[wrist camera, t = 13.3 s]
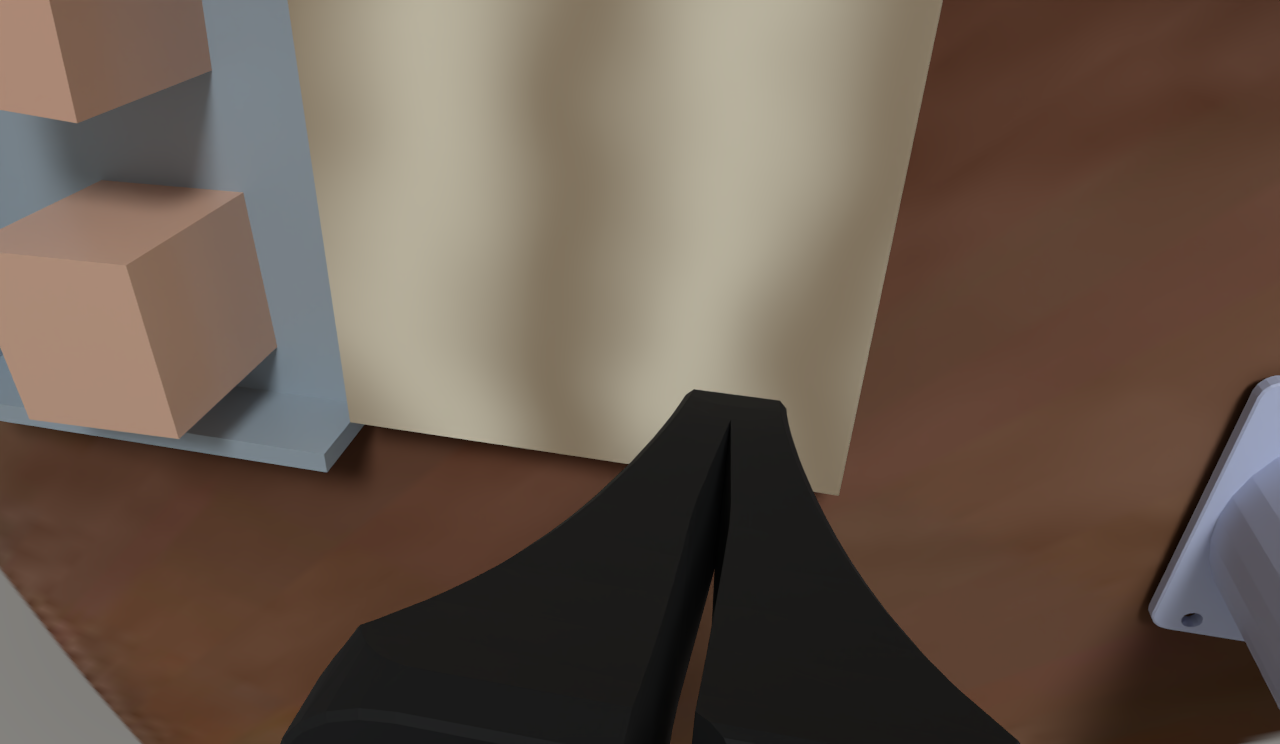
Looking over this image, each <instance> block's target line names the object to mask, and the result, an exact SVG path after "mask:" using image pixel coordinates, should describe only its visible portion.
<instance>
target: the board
mask: <svg viewBox="0 0 1280 744" xmlns="http://www.w3.org/2000/svg"><path fill="white" fill-rule="evenodd" d="M287 1H288V8H289V14H290V21H291V28H292V35H293V41H294V48H295V55H296V61H297V68H298V75H299V82H300V88H301V95H302V102H303V109H304V115H305V122H306V129H307V136H308V142H309V149H310V156H311V162H312V169H313V176H314V183H315V189H316V196H317V203H318V210H319V216H320V223H321V230H322V236H323V243H324V250H325V257H326V263H327V270H328V277H329V284H330V290H331V297H332V304H333V311H334V317H335V324H336V331H337V337H338V344H339V351H340V358H341V364H342V371H343V378H344V385H345V391H346V398H347V405H348V411H349V418H350V422H352V423H358V424H365V425H372V426H378V427H385V428H392V429H398V430H405V431H412V432H418V433H425V434H432V435H438V436H445V437H452V438H458V439H465V440H472V441H478V442H485V443H492V444H498V445H505V446H512V447H518V448H525V449H532V450H538V451H545V452H552V453H558V454H565V455H572V456H578V457H585V458H592V459H598V460H605V461H612V462H618V463H625V464H629V463H630V462H631V461H632V460H633V459H634V458H635V457H636V456H637V455H638V454H639V453H640V452H641V450H642V449H643V448H644V447H645V446H646V445H647V444H648V443H649V442H650V441H651V440H652V438H653V437H654V436H655V435H656V434H657V433H658V431H659V430H660V429H661V428H662V427H663V425H664V424H665V423H666V422H667V420H668V419H669V418H670V417H671V415H672V414H673V413H674V411H675V410H676V408H677V407H678V406H679V404H680V403H681V401H682V400H683V398H684V396H685V395H686V394H688V393H689V392H691V391H692V390H693V389H696V390H703V391H711V392H719V393H726V394H734V395H742V396H749V397H757V398H764V399H772V400H780V401H781V403H782V404H783V405H784V406H785V407H786V409H787V417H788V423H789V427H790V431H791V434H792V438H793V441H794V444H795V447H796V450H797V453H798V456H799V459H800V461H801V464H802V467H803V469H804V471H805V474H806V476H807V478H808V481H809V483H810V485H811V487H812V490H813V492H818V493H825V494H832V495H838V496H839V492H840V487H841V483H842V478H843V473H844V468H845V463H846V459H847V454H848V449H849V444H850V440H851V435H852V430H853V425H854V421H855V416H856V411H857V406H858V402H859V397H860V392H861V387H862V383H863V378H864V373H865V368H866V364H867V359H868V354H869V349H870V344H871V340H872V335H873V330H874V325H875V321H876V316H877V311H878V306H879V302H880V297H881V292H882V287H883V283H884V278H885V273H886V268H887V264H888V259H889V254H890V249H891V245H892V240H893V235H894V230H895V225H896V221H897V216H898V211H899V206H900V202H901V197H902V192H903V187H904V183H905V178H906V173H907V168H908V164H909V159H910V154H911V149H912V145H913V140H914V135H915V130H916V126H917V121H918V116H919V111H920V106H921V102H922V97H923V92H924V87H925V83H926V78H927V73H928V68H929V64H930V59H931V54H932V49H933V45H934V40H935V35H936V30H937V26H938V21H939V16H940V11H941V7H942V2H943V0H287Z"/></svg>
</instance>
